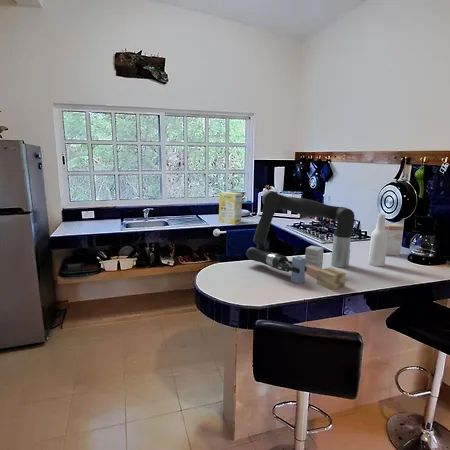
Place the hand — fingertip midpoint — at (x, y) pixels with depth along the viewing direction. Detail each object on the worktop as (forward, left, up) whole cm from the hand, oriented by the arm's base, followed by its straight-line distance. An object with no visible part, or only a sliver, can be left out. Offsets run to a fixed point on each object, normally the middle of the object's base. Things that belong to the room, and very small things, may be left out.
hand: (302, 270), depth 160 cm
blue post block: (0, -3, -7) cm, 7 cm away
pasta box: (-68, -143, -7) cm, 158 cm away
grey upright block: (-21, -10, -7) cm, 24 cm away
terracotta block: (-14, -4, -7) cm, 16 cm away
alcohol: (-61, +4, -7) cm, 62 cm away
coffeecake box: (-90, -5, -7) cm, 90 cm away
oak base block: (-10, +9, -7) cm, 15 cm away
